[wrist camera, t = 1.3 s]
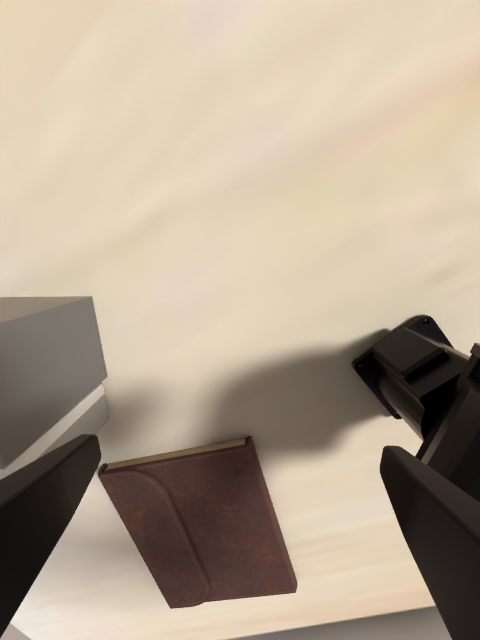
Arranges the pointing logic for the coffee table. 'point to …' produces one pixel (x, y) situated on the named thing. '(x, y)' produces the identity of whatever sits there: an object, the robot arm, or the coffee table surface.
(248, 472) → the notebook
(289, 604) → the coffee table surface
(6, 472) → the door
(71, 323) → the block
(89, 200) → the coffee table surface
